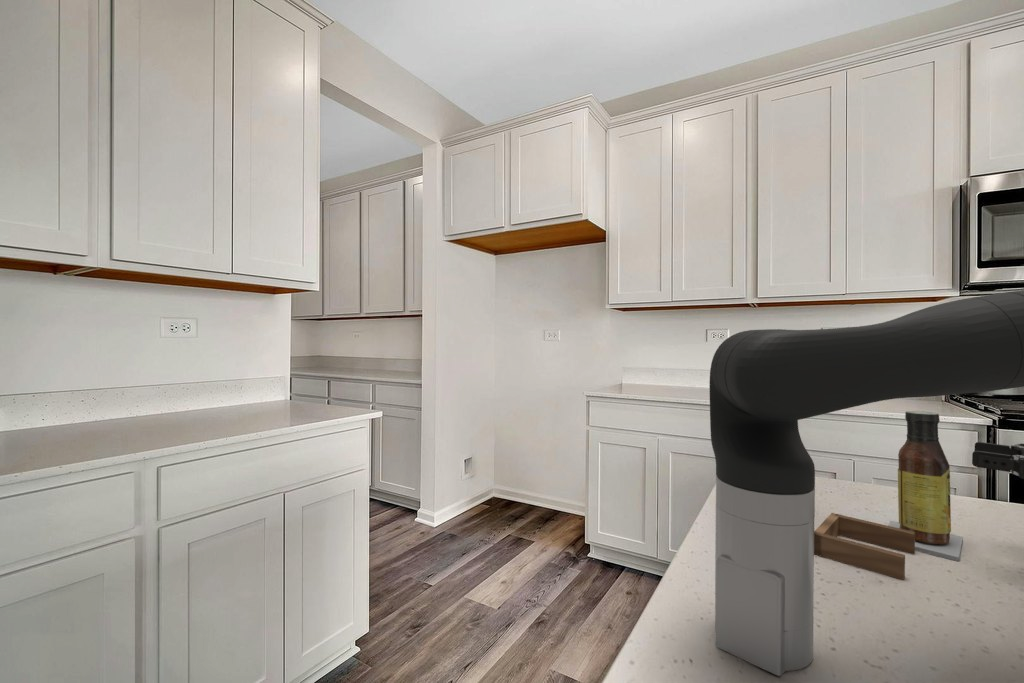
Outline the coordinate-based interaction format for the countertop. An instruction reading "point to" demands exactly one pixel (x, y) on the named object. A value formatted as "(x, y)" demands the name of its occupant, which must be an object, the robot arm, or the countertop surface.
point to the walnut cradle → (861, 553)
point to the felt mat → (938, 546)
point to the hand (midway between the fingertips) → (973, 453)
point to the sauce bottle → (924, 481)
